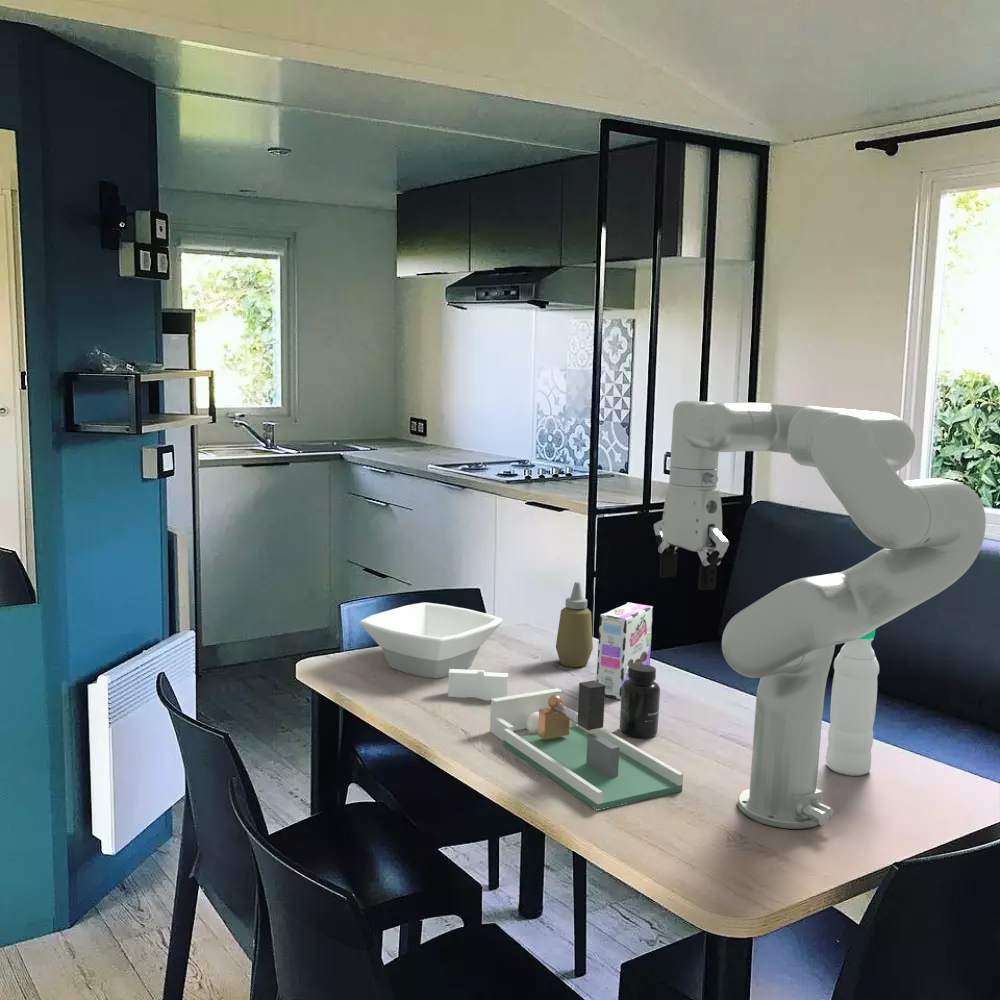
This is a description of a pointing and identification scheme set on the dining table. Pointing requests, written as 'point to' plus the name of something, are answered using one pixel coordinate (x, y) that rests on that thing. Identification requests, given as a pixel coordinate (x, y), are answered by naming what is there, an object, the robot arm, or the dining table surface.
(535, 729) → the ball
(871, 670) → the water bottle
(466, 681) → the white stepped block
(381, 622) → the bowl
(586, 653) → the squeeze bottle
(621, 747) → the pitch
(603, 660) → the candy box
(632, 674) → the supplement bottle
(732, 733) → the dining table surface
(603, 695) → the copper block with rod
